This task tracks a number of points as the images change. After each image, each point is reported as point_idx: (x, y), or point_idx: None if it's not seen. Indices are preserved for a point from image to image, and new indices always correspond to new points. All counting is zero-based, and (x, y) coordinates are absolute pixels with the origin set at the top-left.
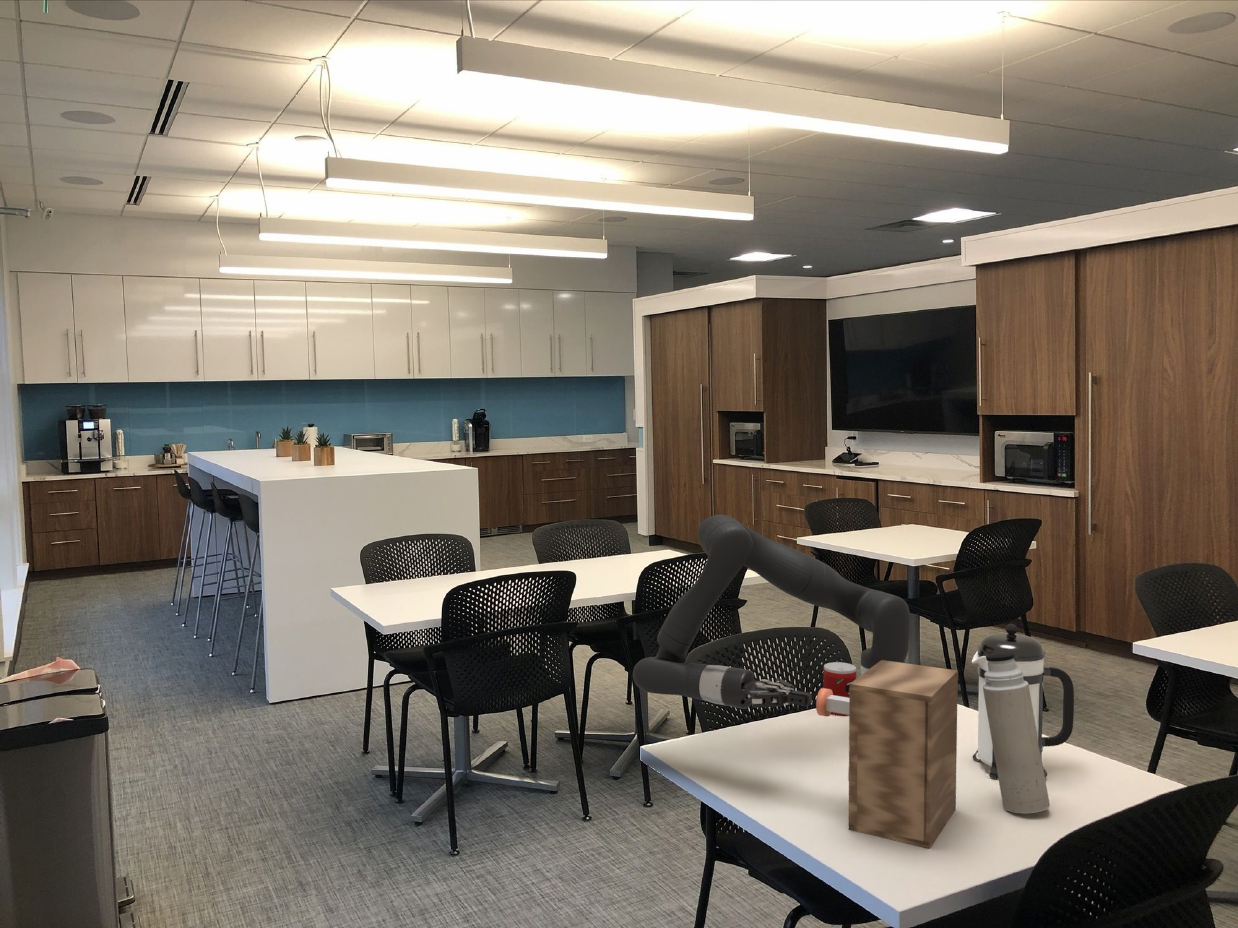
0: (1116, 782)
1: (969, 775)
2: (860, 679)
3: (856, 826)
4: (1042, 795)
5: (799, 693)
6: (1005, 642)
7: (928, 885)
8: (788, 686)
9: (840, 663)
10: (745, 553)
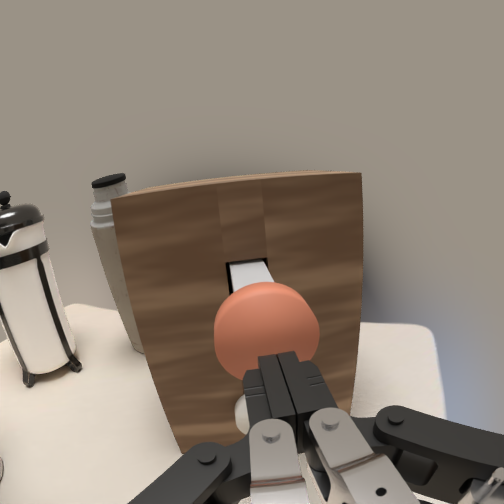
0: (72, 317)
1: (73, 386)
2: (313, 174)
3: None
4: None
5: (300, 377)
6: (23, 205)
7: (379, 332)
8: (225, 466)
9: None
10: None
